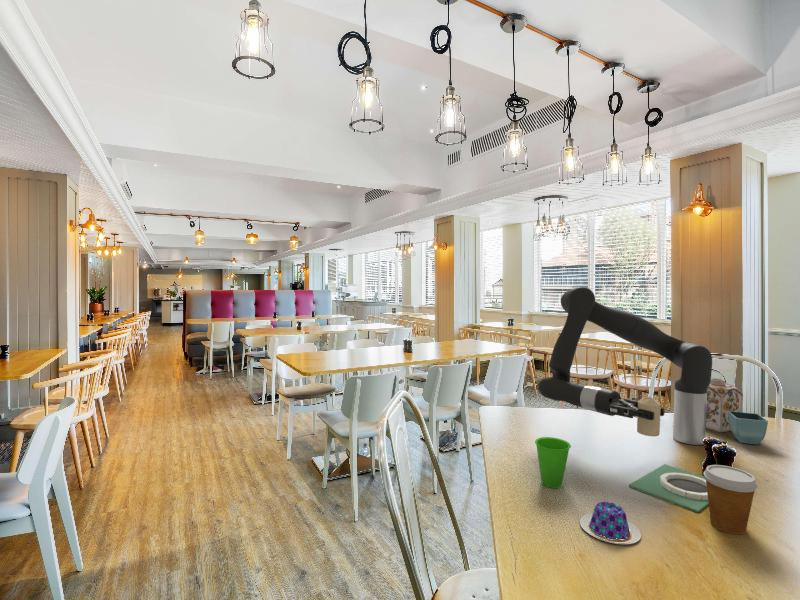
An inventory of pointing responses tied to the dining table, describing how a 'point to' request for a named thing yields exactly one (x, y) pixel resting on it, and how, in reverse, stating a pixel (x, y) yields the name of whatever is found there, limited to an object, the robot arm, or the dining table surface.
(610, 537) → the pudding
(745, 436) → the flower pot
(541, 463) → the cup
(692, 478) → the putting green
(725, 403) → the decorative jar
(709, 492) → the disposable coffee cup
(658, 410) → the candle
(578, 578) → the dining table surface
